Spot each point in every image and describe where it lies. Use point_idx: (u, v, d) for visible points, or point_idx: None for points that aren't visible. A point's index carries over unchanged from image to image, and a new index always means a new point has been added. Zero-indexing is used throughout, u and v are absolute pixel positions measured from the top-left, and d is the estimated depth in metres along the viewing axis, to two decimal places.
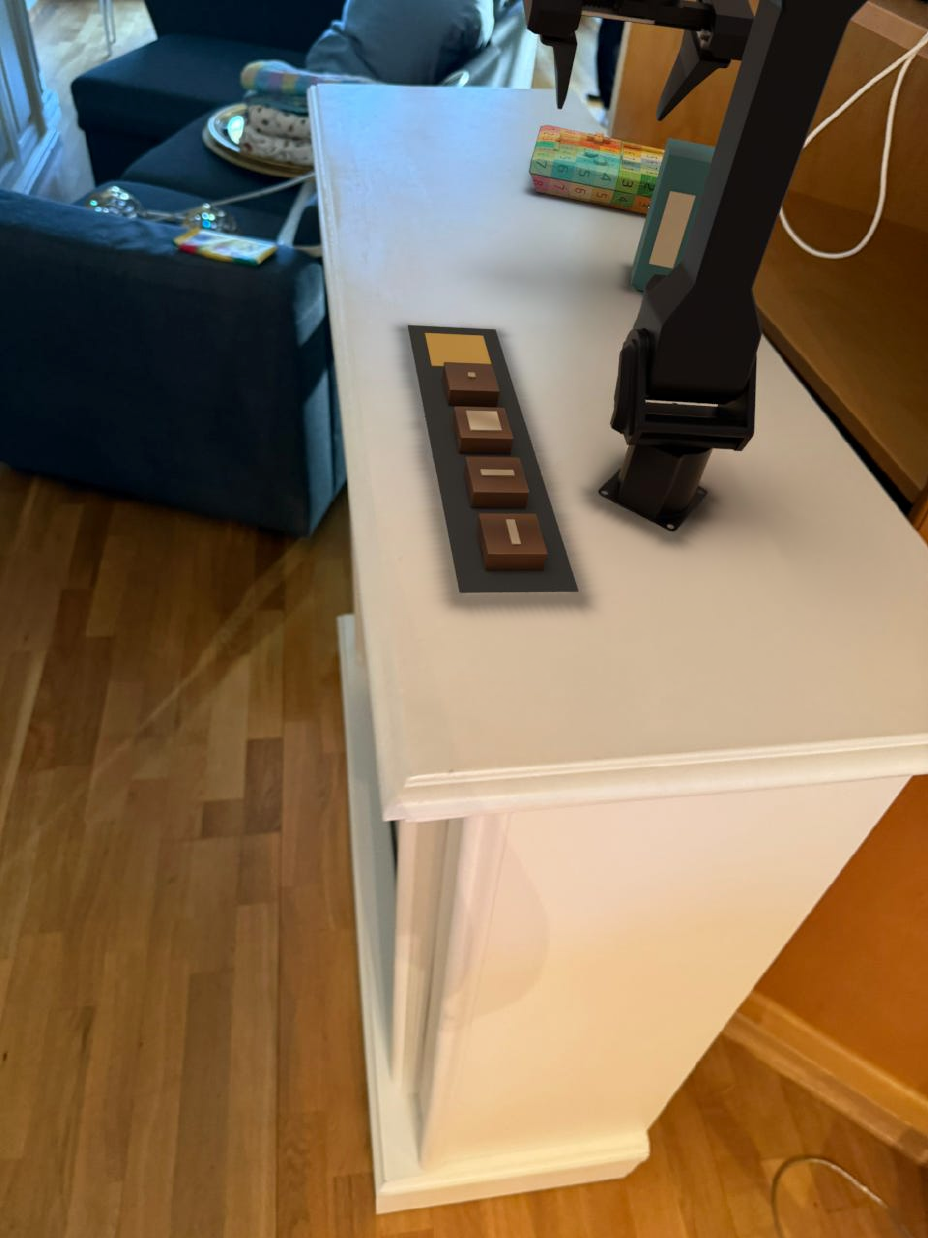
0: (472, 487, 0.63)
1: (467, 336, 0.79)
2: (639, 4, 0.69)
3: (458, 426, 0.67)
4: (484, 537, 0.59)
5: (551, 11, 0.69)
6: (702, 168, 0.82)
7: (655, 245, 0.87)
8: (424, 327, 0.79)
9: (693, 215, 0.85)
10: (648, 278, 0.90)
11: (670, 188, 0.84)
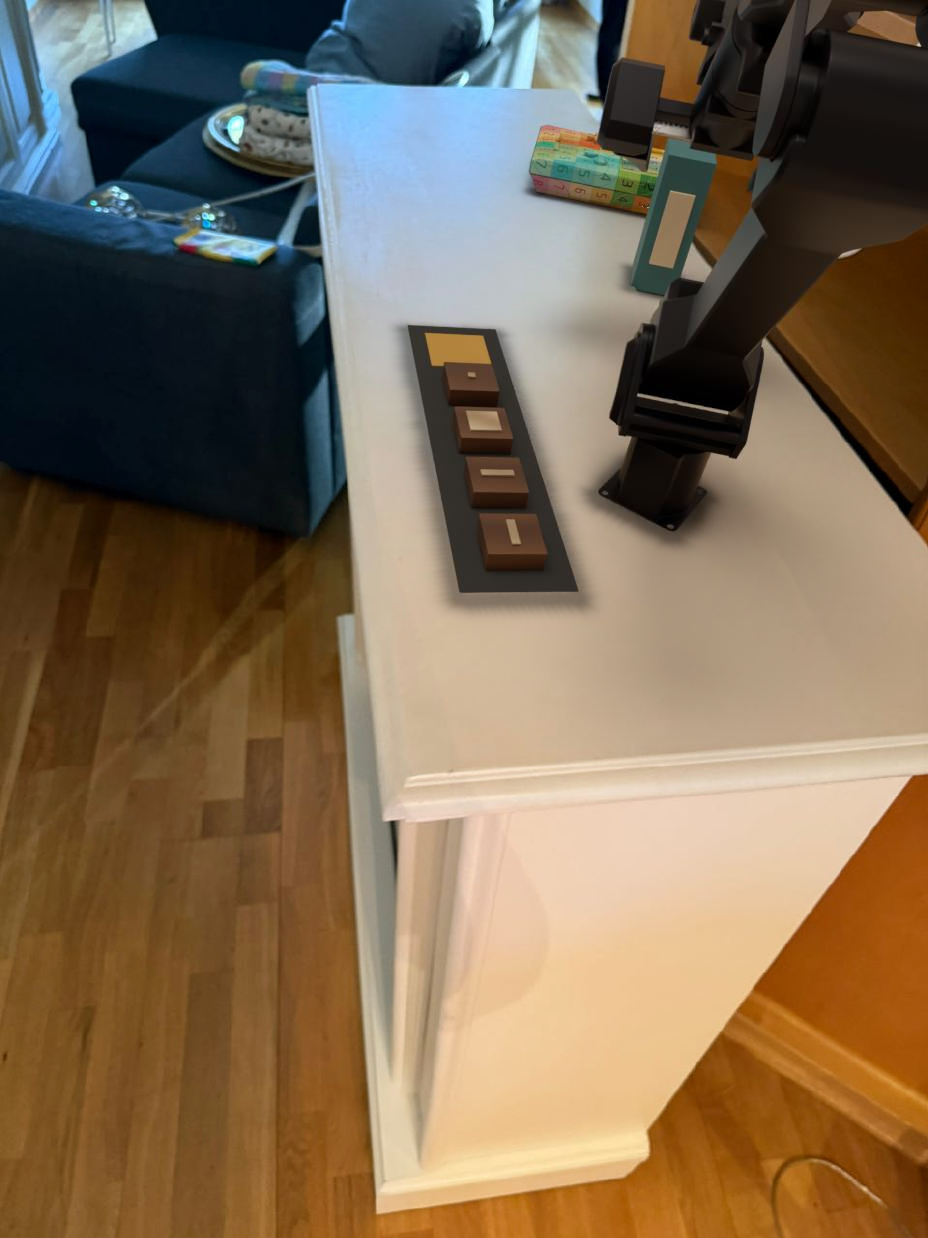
0: (472, 487, 0.63)
1: (467, 336, 0.79)
2: (709, 146, 0.67)
3: (458, 426, 0.67)
4: (484, 537, 0.59)
5: (617, 140, 0.68)
6: (702, 168, 0.82)
7: (655, 245, 0.87)
8: (424, 327, 0.79)
9: (693, 215, 0.85)
10: (648, 278, 0.90)
11: (670, 188, 0.84)
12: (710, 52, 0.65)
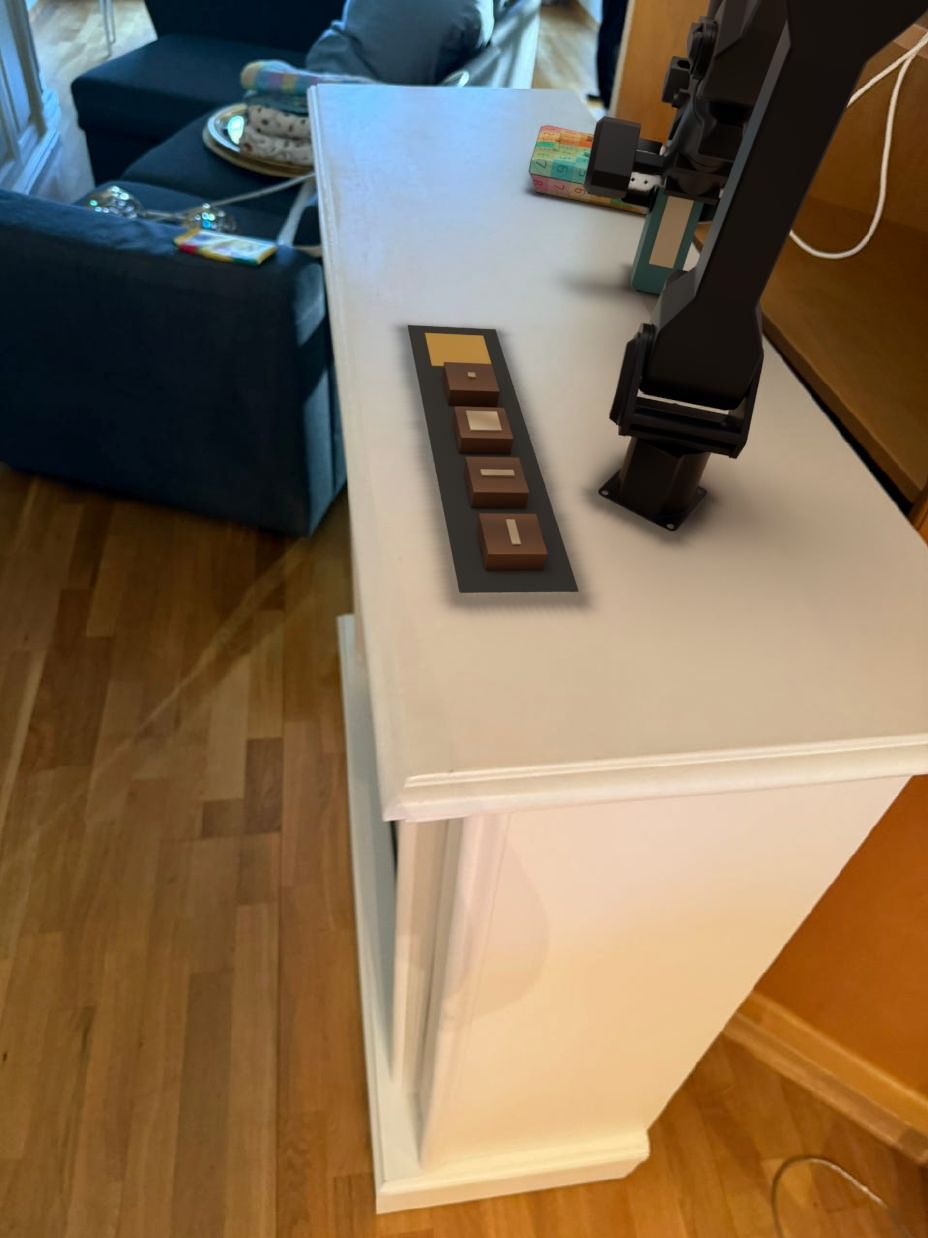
0: (472, 487, 0.63)
1: (467, 336, 0.79)
2: (678, 193, 0.79)
3: (458, 426, 0.67)
4: (484, 537, 0.59)
5: (600, 186, 0.80)
6: None
7: (654, 245, 0.88)
8: (424, 327, 0.79)
9: (693, 215, 0.85)
10: (648, 278, 0.90)
11: None
12: (678, 114, 0.77)
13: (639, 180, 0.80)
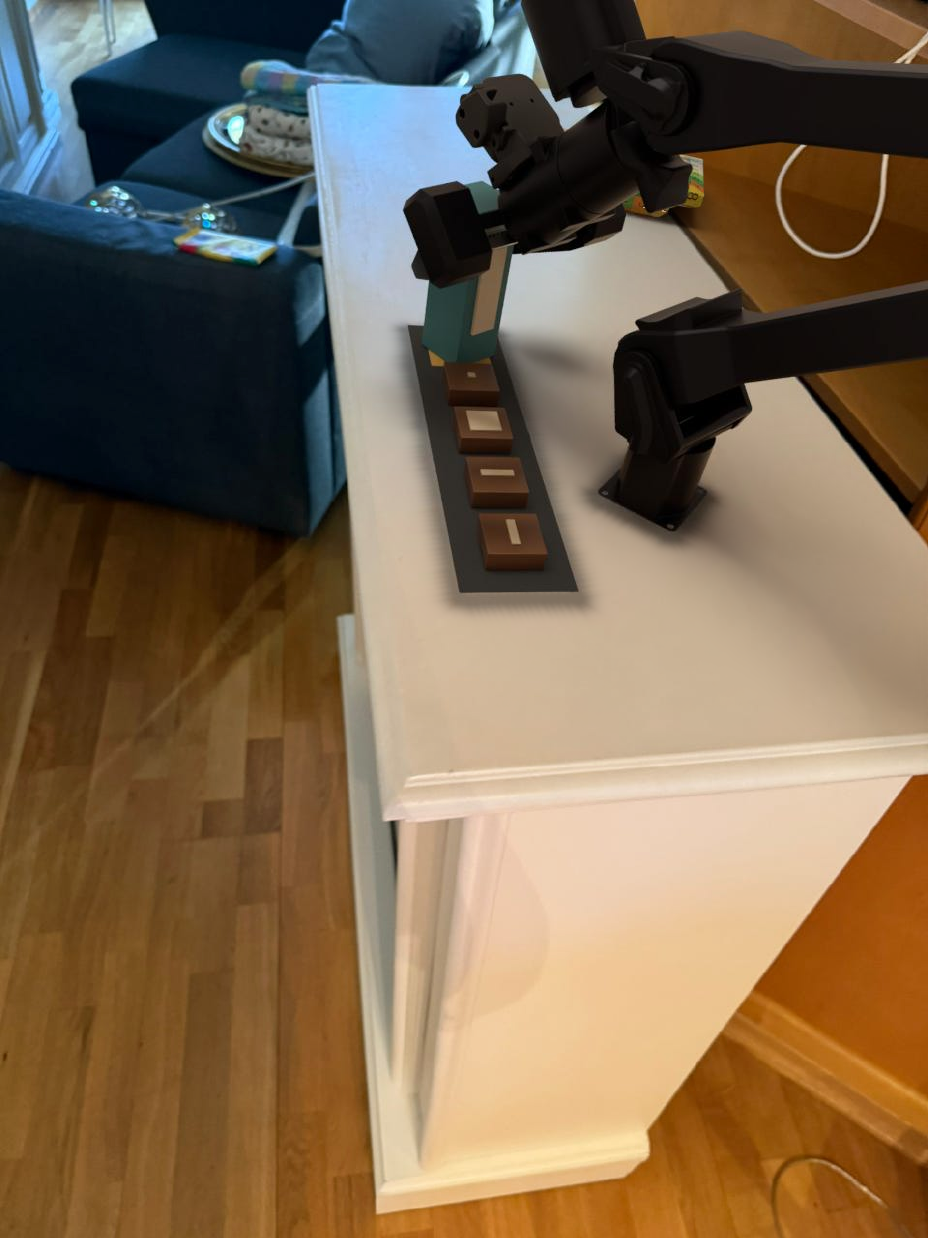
0: (472, 487, 0.63)
1: None
2: (542, 247, 0.64)
3: (458, 426, 0.67)
4: (484, 537, 0.59)
5: (463, 276, 0.62)
6: None
7: (476, 314, 0.72)
8: None
9: (505, 266, 0.71)
10: (470, 350, 0.75)
11: None
12: (516, 159, 0.60)
13: None
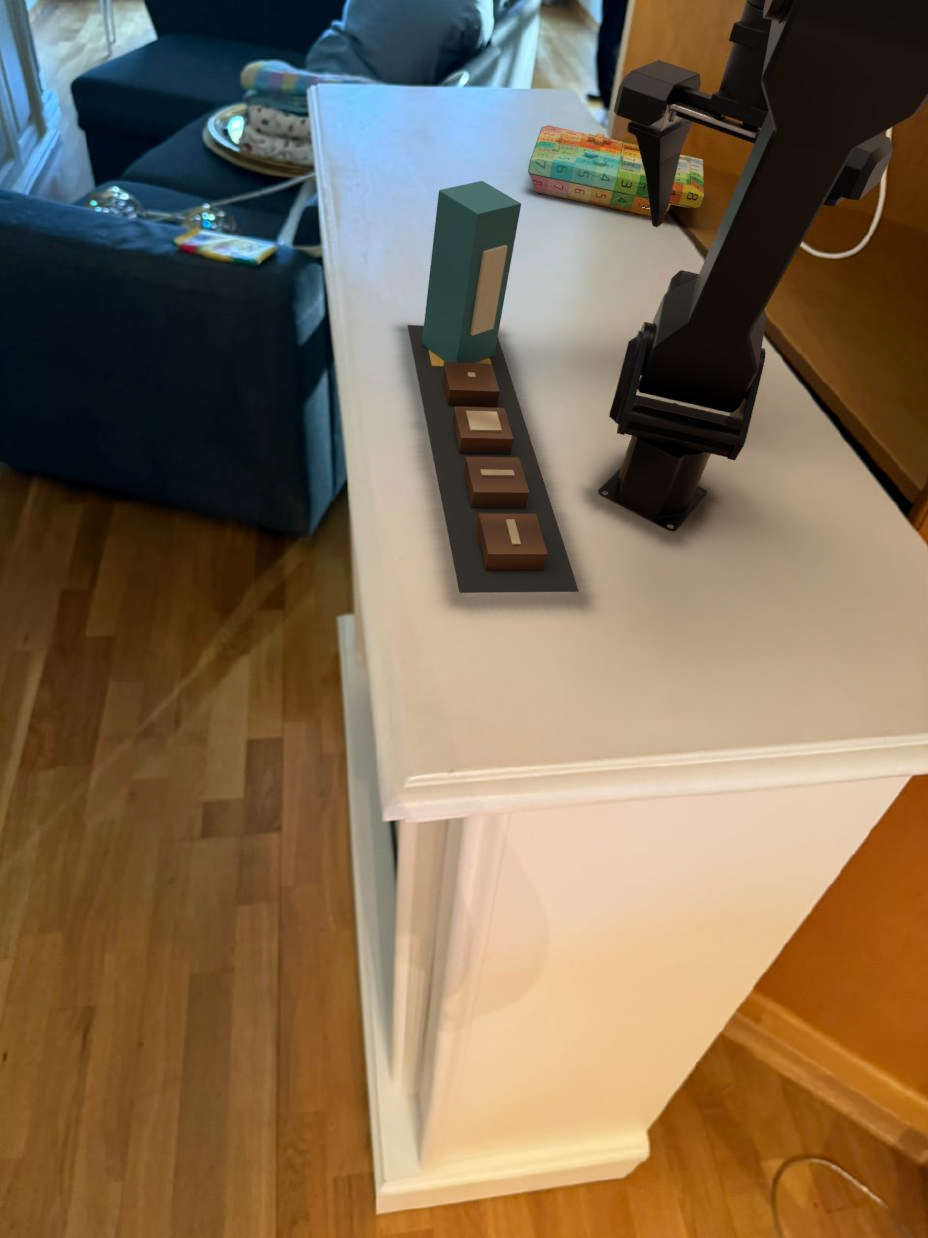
0: (472, 487, 0.63)
1: None
2: (729, 102, 0.60)
3: (458, 426, 0.67)
4: (484, 537, 0.59)
5: (634, 92, 0.63)
6: (508, 214, 0.68)
7: (476, 314, 0.72)
8: None
9: (505, 266, 0.71)
10: (470, 350, 0.75)
11: (482, 248, 0.68)
12: None
13: None
